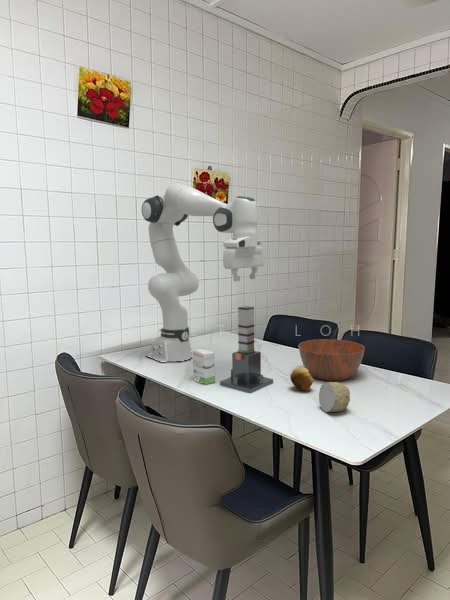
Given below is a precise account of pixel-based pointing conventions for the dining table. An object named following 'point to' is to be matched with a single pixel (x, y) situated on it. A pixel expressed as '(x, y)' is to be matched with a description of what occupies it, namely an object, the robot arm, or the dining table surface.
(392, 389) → the dining table surface
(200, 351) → the ink box
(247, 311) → the column
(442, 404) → the dining table surface
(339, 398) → the yellow rounded chunk
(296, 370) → the fruit
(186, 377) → the dining table surface
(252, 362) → the stand
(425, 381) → the dining table surface
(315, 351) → the bowl
